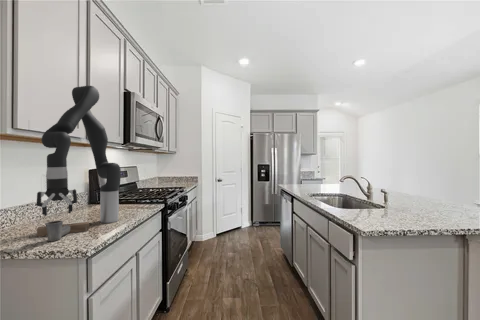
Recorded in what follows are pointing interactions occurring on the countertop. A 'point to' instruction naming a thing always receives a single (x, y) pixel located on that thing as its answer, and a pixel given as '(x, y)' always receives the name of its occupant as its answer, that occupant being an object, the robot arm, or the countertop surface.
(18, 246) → the countertop surface
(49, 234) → the pipe
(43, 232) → the banded brown beam
